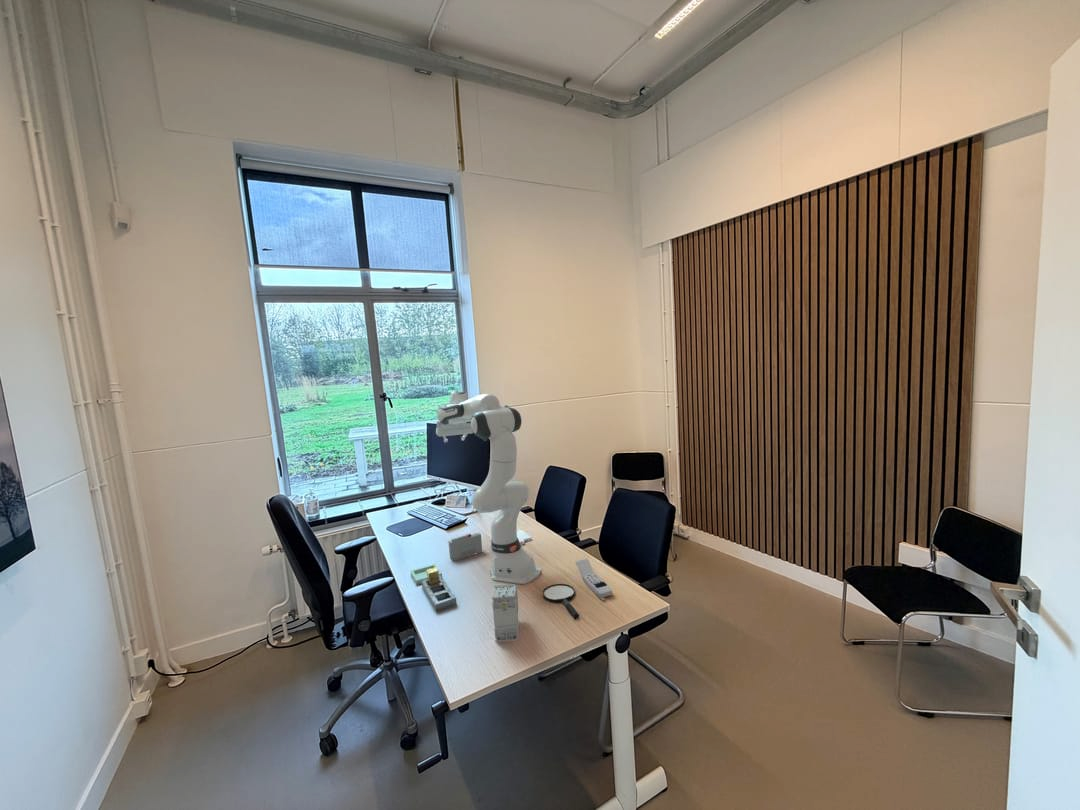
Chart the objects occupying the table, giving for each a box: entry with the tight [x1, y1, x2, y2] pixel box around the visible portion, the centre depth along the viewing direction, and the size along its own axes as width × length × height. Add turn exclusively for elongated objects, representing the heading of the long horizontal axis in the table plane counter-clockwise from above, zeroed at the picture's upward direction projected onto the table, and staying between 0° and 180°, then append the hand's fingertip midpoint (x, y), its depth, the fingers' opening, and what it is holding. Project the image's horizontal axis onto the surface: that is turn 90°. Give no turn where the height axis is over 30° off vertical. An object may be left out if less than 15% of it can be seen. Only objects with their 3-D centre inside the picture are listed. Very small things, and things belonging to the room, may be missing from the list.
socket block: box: [421, 575, 458, 613], centre depth 172 cm, size 22×8×3 cm, turn 29°
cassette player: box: [447, 532, 483, 562], centre depth 208 cm, size 16×3×10 cm, turn 122°
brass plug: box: [426, 567, 440, 586], centre depth 178 cm, size 4×4×8 cm
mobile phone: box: [575, 558, 613, 602], centre depth 172 cm, size 6×6×25 cm
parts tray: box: [410, 563, 443, 586], centre depth 189 cm, size 11×11×2 cm
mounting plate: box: [517, 529, 533, 546], centre depth 224 cm, size 18×13×2 cm
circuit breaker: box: [491, 583, 520, 643], centre depth 147 cm, size 8×14×15 cm, turn 2°
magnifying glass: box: [542, 583, 580, 620], centre depth 162 cm, size 12×24×2 cm, turn 18°
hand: (454, 440), depth 232 cm, fingers open, 8 cm apart
